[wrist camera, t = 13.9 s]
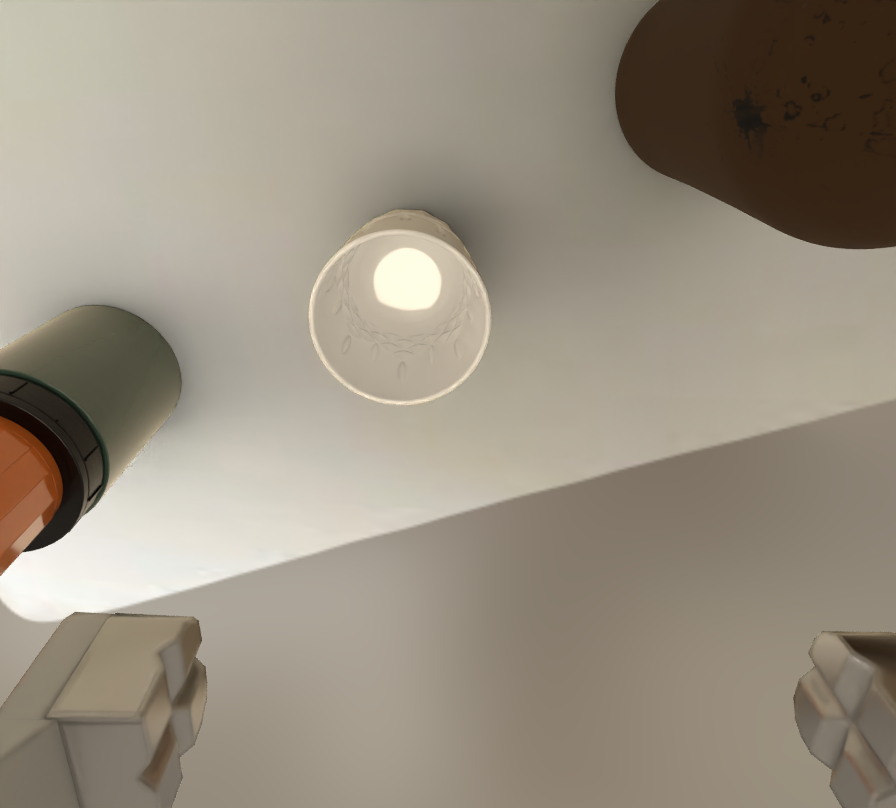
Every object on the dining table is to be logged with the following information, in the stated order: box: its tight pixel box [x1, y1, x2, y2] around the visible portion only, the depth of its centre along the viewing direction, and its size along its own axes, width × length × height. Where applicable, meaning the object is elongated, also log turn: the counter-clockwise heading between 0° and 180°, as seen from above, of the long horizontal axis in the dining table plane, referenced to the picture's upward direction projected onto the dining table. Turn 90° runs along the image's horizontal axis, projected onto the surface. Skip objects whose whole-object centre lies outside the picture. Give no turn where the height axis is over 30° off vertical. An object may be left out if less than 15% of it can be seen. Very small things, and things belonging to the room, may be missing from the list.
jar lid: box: [0, 375, 103, 552], centre depth 30 cm, size 8×8×2 cm
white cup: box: [309, 209, 491, 405], centre depth 33 cm, size 8×8×10 cm
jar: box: [0, 305, 181, 515], centre depth 35 cm, size 8×8×12 cm
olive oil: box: [615, 0, 896, 249], centre depth 23 cm, size 11×11×25 cm
